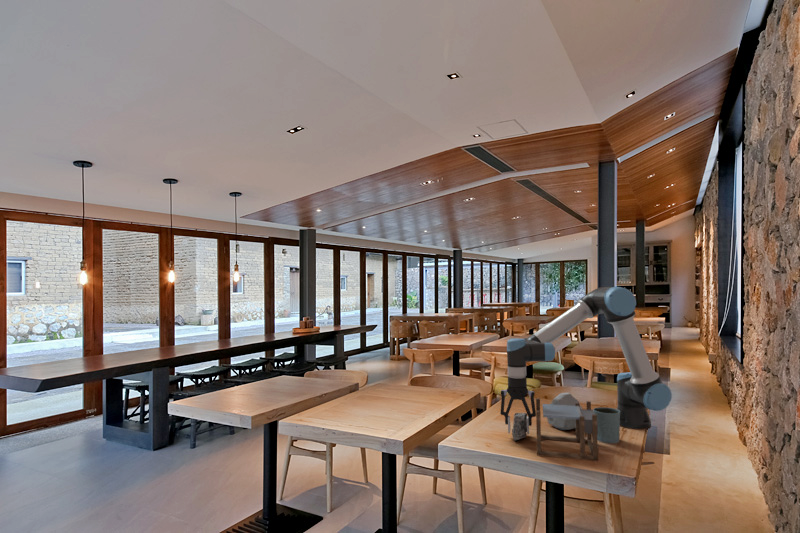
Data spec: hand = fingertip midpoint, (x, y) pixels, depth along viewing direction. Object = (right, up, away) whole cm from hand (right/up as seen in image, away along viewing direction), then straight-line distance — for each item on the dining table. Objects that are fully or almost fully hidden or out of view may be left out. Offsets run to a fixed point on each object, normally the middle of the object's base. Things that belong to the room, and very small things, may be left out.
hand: (518, 432), depth 195 cm
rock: (+1, -1, 0) cm, 2 cm away
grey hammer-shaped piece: (+16, +7, -12) cm, 21 cm away
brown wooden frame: (+15, -2, -12) cm, 19 cm away
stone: (+25, -3, +15) cm, 29 cm away
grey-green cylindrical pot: (+35, -2, -2) cm, 36 cm away
